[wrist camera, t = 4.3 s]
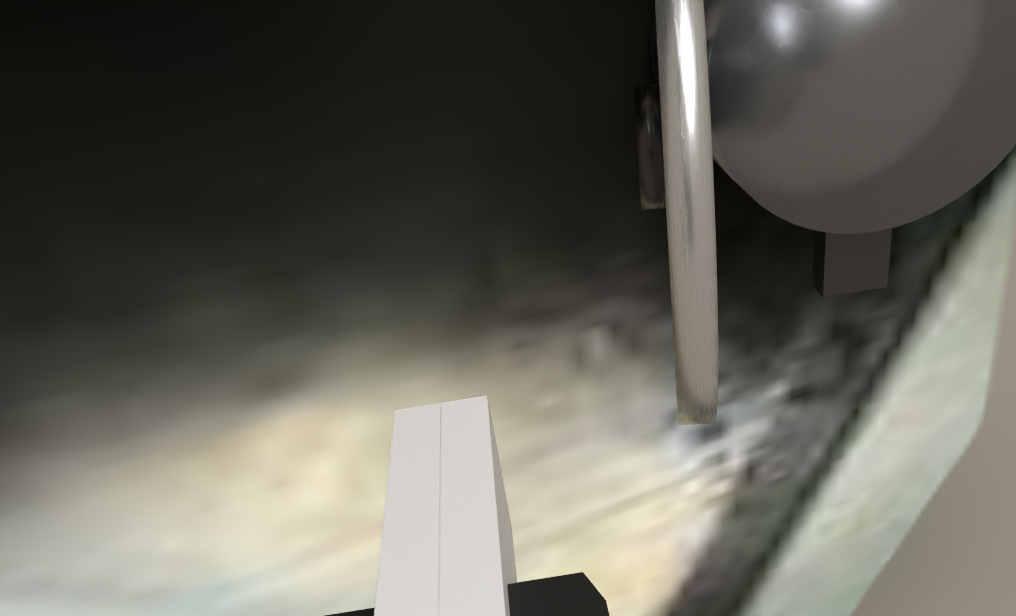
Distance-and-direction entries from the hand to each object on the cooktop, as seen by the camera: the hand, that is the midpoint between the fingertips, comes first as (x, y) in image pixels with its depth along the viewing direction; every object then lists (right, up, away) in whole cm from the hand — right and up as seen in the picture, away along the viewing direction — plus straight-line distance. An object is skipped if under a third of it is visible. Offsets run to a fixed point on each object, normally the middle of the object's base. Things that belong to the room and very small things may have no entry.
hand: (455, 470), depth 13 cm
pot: (+15, +17, +27) cm, 35 cm away
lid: (+7, +7, +11) cm, 15 cm away
